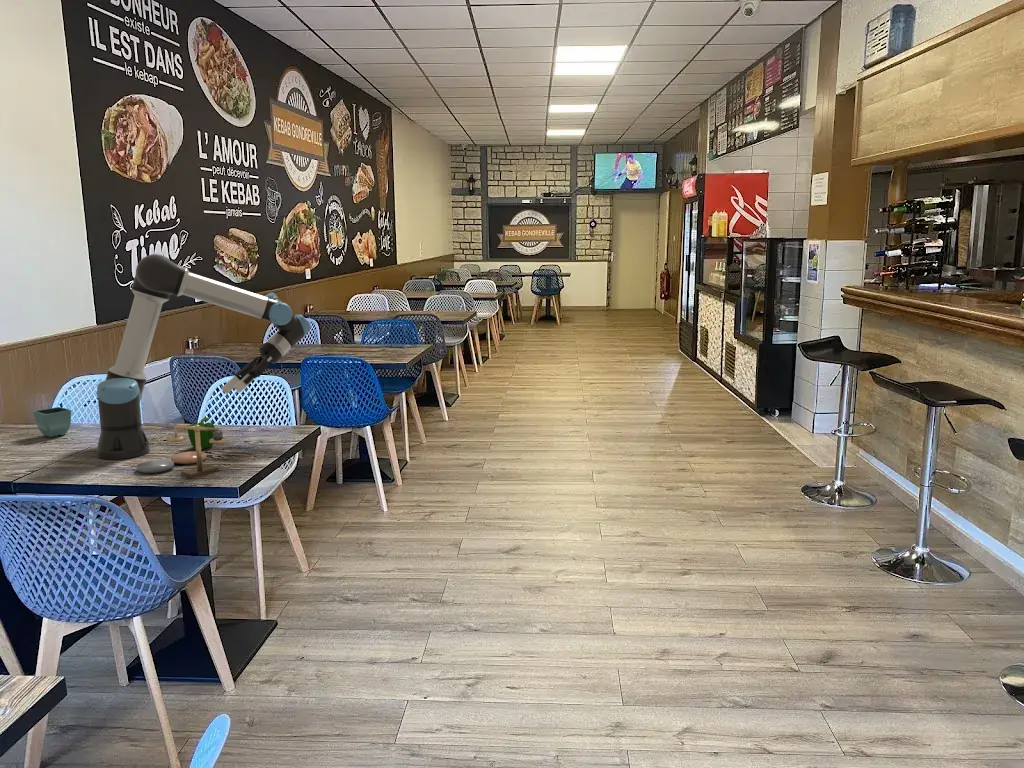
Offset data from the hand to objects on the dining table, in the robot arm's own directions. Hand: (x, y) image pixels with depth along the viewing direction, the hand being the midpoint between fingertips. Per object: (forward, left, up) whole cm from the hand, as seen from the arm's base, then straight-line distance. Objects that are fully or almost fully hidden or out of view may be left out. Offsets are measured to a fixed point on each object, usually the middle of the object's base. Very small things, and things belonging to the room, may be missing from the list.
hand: (230, 390), depth 252 cm
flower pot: (-57, -30, -17) cm, 67 cm away
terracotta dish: (+10, -24, -17) cm, 31 cm away
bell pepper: (0, -12, -17) cm, 21 cm away
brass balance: (+24, -30, -17) cm, 42 cm away
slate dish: (+10, -35, -17) cm, 40 cm away
